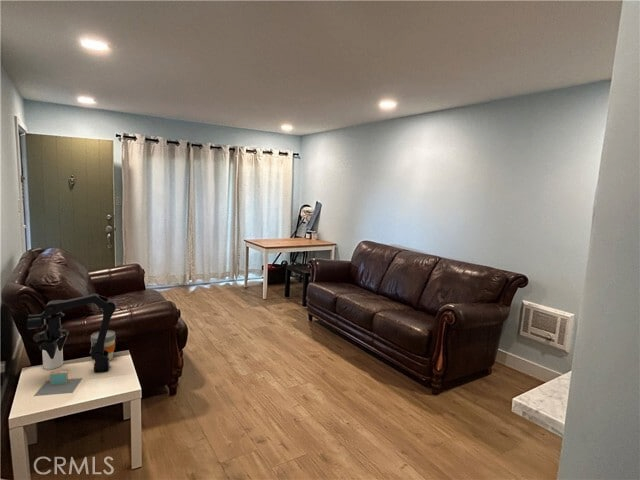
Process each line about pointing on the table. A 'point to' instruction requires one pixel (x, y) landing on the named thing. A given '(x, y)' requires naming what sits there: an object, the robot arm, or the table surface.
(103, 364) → the robot arm
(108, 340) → the reusable coffee cup
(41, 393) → the mat
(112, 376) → the table surface
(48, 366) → the mug
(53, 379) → the tile
